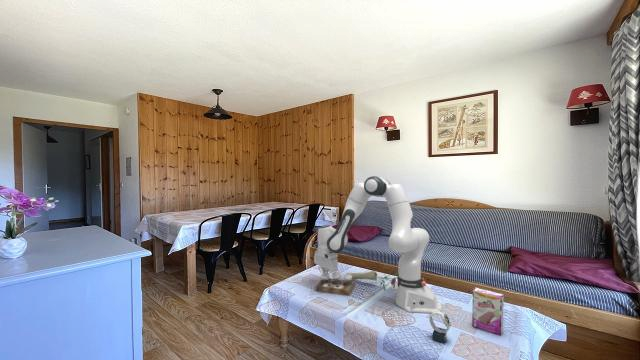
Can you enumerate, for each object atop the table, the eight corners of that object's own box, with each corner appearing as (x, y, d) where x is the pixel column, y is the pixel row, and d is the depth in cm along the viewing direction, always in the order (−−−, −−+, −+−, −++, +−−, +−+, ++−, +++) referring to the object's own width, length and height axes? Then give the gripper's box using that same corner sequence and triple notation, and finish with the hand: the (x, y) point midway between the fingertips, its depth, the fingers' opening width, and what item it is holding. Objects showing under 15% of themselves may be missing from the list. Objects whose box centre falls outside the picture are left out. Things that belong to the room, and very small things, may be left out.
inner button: (352, 277, 168) (352, 274, 168) (351, 280, 163) (350, 277, 163) (344, 276, 170) (344, 273, 170) (342, 279, 165) (342, 276, 165)
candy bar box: (471, 326, 125) (472, 290, 124) (474, 322, 129) (474, 286, 128) (501, 336, 118) (501, 297, 117) (503, 331, 121) (503, 293, 121)
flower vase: (353, 290, 181) (406, 290, 163) (343, 291, 172) (399, 291, 154) (351, 271, 185) (404, 268, 167) (342, 271, 176) (397, 268, 158)
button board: (354, 286, 170) (354, 280, 170) (349, 295, 157) (349, 289, 157) (323, 282, 177) (323, 276, 177) (315, 291, 164) (315, 285, 164)
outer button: (330, 277, 173) (330, 274, 173) (328, 280, 168) (328, 277, 168) (322, 276, 174) (322, 273, 174) (320, 279, 170) (320, 276, 170)
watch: (449, 345, 112) (449, 318, 112) (428, 339, 117) (428, 312, 116) (451, 338, 117) (451, 312, 116) (431, 332, 121) (431, 307, 121)
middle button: (341, 276, 170) (341, 273, 170) (339, 279, 166) (339, 276, 166) (333, 275, 172) (333, 272, 172) (331, 278, 167) (331, 275, 167)
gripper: (311, 249, 177) (311, 271, 178) (330, 257, 160) (331, 281, 161) (319, 247, 181) (320, 269, 181) (339, 255, 164) (339, 278, 164)
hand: (325, 274), depth 171 cm, fingers closed
